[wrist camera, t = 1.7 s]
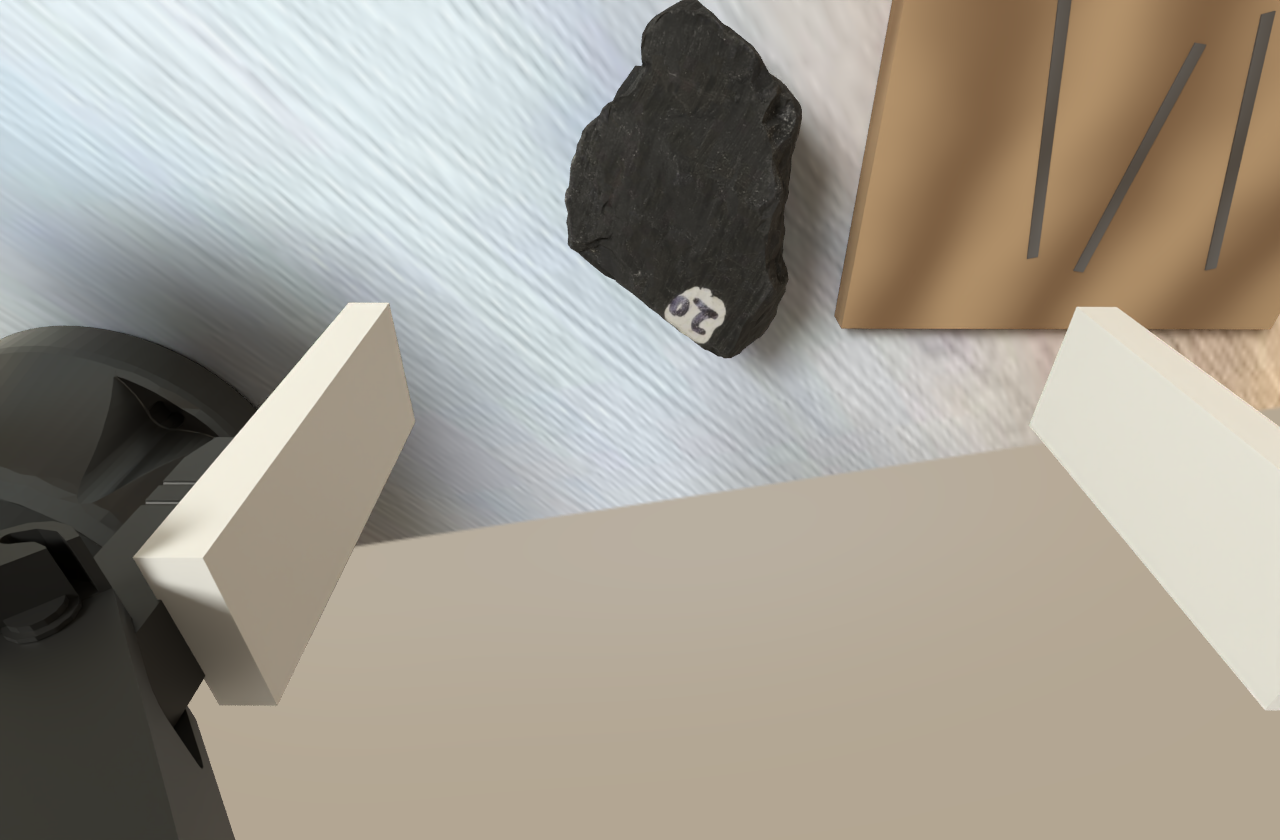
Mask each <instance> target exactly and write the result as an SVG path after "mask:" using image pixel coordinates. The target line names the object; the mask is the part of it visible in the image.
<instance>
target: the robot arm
mask: <svg viewBox="0 0 1280 840" xmlns="http://www.w3.org/2000/svg"><path fill="white" fill-rule="evenodd" d="M414 424H415V418H414V414H413V409H412V405H411V400H410V396H409V391H408V387H407V382H406V377H405V373H404V368H403V364H402V359H401V355H400V350H399V346H398V341H397V337H396V332H395V328H394V323H393V319H392V314H391V310H390V305H389V303H348V304H347V305H346V307H345V308H344V309H343V310H342V311H341V312H340V314H339V315H338V316H337V317H336V318H335V319H334V321H333V322H332V323H331V324H330V325H329V327H328V328H327V329H326V330H325V331H324V332H323V334H322V335H321V336H320V337H319V338H318V340H317V341H316V342H315V343H314V344H313V345H312V347H311V348H310V349H309V350H308V351H307V353H306V354H305V355H304V356H303V357H302V358H301V360H300V361H299V362H298V363H297V364H296V365H295V367H294V368H293V369H292V370H291V371H290V373H289V374H288V375H287V376H286V377H285V378H284V380H283V381H282V382H281V383H280V384H279V386H278V387H277V388H276V389H275V390H274V391H273V393H272V394H271V395H270V396H269V397H268V399H267V400H266V401H265V402H264V403H263V404H262V406H261V407H260V408H259V409H258V410H256V409H255V408H254V407H253V406H252V405H251V404H250V403H249V402H248V401H247V400H246V399H245V398H244V397H243V396H242V395H240V394H239V393H238V392H237V391H236V390H234V389H233V388H232V387H231V386H229V385H228V384H227V383H226V382H224V381H223V380H221V379H220V378H219V377H217V376H216V375H214V374H213V373H211V372H210V371H208V370H207V369H205V368H203V367H202V366H200V365H198V364H196V363H195V362H193V361H191V360H189V359H187V358H185V357H184V356H182V355H180V354H178V353H175V352H173V351H171V350H169V349H167V348H164V347H162V346H159V345H157V344H154V343H152V342H149V341H146V340H143V339H140V338H137V337H134V336H130V335H126V334H123V333H119V332H114V331H109V330H104V329H98V328H91V327H81V326H49V327H40V328H34V329H29V330H25V331H21V332H18V333H15V334H12V335H9V336H7V337H5V338H3V339H1V340H0V840H235V838H234V835H233V832H232V829H231V825H230V823H229V820H228V816H227V813H226V810H225V807H224V804H223V801H222V798H221V795H220V792H219V789H218V786H217V782H216V779H215V776H214V773H213V770H212V767H211V764H210V761H209V758H208V755H207V752H206V749H205V746H204V743H203V740H202V736H201V733H200V730H199V727H198V724H197V721H196V719H195V717H194V715H193V714H192V712H191V711H190V709H189V708H188V706H187V705H188V704H189V702H190V700H191V699H192V697H193V695H194V694H195V692H196V690H197V689H198V687H199V685H200V684H201V682H202V681H203V679H204V680H205V681H206V683H207V685H208V686H209V688H210V690H211V691H212V693H213V695H214V697H215V698H216V700H217V702H218V703H219V705H278V703H279V701H280V699H281V697H282V695H283V693H284V691H285V689H286V687H287V685H288V683H289V681H290V678H291V676H292V674H293V672H294V670H295V668H296V666H297V664H298V662H299V660H300V658H301V656H302V654H303V652H304V650H305V648H306V646H307V644H308V641H309V639H310V637H311V635H312V633H313V631H314V629H315V627H316V625H317V623H318V621H319V619H320V617H321V615H322V613H323V611H324V608H325V607H326V604H327V602H328V600H329V598H330V596H331V594H332V592H333V590H334V588H335V586H336V584H337V582H338V580H339V578H340V576H341V574H342V572H343V569H344V567H345V565H346V563H347V561H348V559H349V557H350V555H351V553H352V551H353V549H354V547H355V545H356V543H357V541H358V539H359V537H360V535H361V533H362V531H363V528H364V526H365V524H366V522H367V520H368V518H369V516H370V514H371V512H372V510H373V508H374V506H375V504H376V502H377V500H378V498H379V496H380V494H381V491H382V489H383V487H384V485H385V483H386V481H387V479H388V477H389V475H390V473H391V471H392V469H393V467H394V465H395V463H396V461H397V459H398V457H399V454H400V452H401V450H402V448H403V446H404V444H405V442H406V440H407V438H408V436H409V434H410V432H411V430H412V428H413V426H414ZM1029 426H1030V427H1031V428H1032V429H1033V431H1034V432H1035V433H1036V434H1037V436H1038V437H1039V438H1040V439H1041V440H1042V442H1043V443H1044V444H1045V445H1046V446H1047V448H1048V449H1049V450H1050V451H1051V452H1052V454H1053V455H1054V456H1055V457H1056V458H1057V460H1058V461H1059V462H1060V463H1061V464H1062V466H1063V467H1064V468H1065V469H1066V471H1067V472H1068V473H1069V474H1070V475H1071V477H1072V478H1073V479H1074V480H1075V481H1076V483H1077V484H1078V485H1079V486H1080V487H1081V489H1082V490H1083V491H1084V492H1085V493H1086V495H1087V496H1088V497H1089V498H1090V500H1091V501H1092V502H1093V503H1094V504H1095V505H1096V507H1097V508H1098V509H1099V510H1100V512H1101V513H1102V514H1103V515H1104V516H1105V518H1106V519H1107V520H1108V521H1109V522H1110V524H1111V525H1112V526H1113V527H1114V528H1115V530H1116V531H1117V532H1118V533H1119V535H1121V537H1122V538H1123V539H1124V541H1125V542H1126V543H1127V544H1128V545H1129V546H1130V548H1131V549H1132V550H1133V551H1134V552H1135V554H1136V555H1137V556H1138V557H1139V559H1140V560H1141V561H1142V562H1143V563H1144V565H1145V566H1146V567H1147V568H1148V569H1149V571H1150V572H1151V573H1152V574H1153V576H1154V577H1155V578H1156V579H1157V580H1158V582H1159V583H1160V584H1161V585H1162V586H1163V587H1164V589H1165V590H1166V591H1167V592H1168V594H1169V595H1170V596H1171V597H1172V598H1173V599H1174V601H1175V602H1176V603H1177V605H1178V606H1179V607H1180V608H1181V609H1182V611H1183V612H1184V613H1185V614H1186V615H1187V616H1188V618H1189V619H1190V620H1191V621H1192V622H1193V624H1194V625H1195V626H1196V627H1197V629H1198V630H1199V631H1200V632H1201V633H1202V634H1203V636H1204V637H1205V638H1206V639H1207V641H1208V642H1209V643H1210V644H1211V645H1212V647H1213V648H1214V649H1215V650H1216V652H1217V653H1218V654H1219V655H1220V656H1221V657H1222V659H1223V660H1224V661H1225V662H1226V664H1227V665H1228V666H1229V667H1230V668H1231V670H1232V671H1233V672H1234V673H1235V675H1236V676H1237V677H1238V678H1239V679H1240V681H1241V682H1242V683H1243V684H1244V685H1245V687H1246V688H1247V689H1248V690H1249V691H1250V692H1251V694H1252V695H1253V696H1254V697H1255V699H1256V700H1257V701H1258V702H1259V703H1260V705H1261V706H1262V707H1263V708H1264V710H1280V427H1279V426H1278V425H1276V424H1275V423H1274V422H1272V421H1271V420H1270V419H1268V418H1267V417H1265V416H1264V415H1263V414H1261V413H1260V412H1259V411H1257V410H1256V409H1255V408H1253V407H1252V406H1251V405H1249V404H1248V403H1247V402H1245V401H1244V400H1242V399H1241V398H1240V397H1238V396H1237V395H1236V394H1234V393H1233V392H1232V391H1230V390H1229V389H1228V388H1226V387H1225V386H1223V385H1222V384H1221V383H1219V382H1218V381H1217V380H1215V379H1214V378H1213V377H1211V376H1210V375H1208V374H1207V373H1206V372H1204V371H1203V370H1202V369H1200V368H1199V367H1198V366H1196V365H1195V364H1194V363H1192V362H1191V361H1189V360H1188V359H1187V358H1185V357H1184V356H1183V355H1181V354H1180V353H1179V352H1177V351H1176V350H1174V349H1173V348H1172V347H1170V346H1169V345H1168V344H1166V343H1165V342H1164V341H1162V340H1161V339H1160V338H1158V337H1157V336H1155V335H1154V334H1153V333H1151V332H1150V331H1149V330H1147V329H1146V328H1145V327H1143V326H1142V325H1140V324H1139V323H1138V322H1136V321H1135V320H1134V319H1132V318H1131V317H1130V316H1128V315H1127V314H1126V313H1124V312H1123V311H1121V310H1120V309H1119V308H1117V307H1076V310H1075V312H1074V315H1073V317H1072V320H1071V322H1070V325H1069V327H1068V330H1067V332H1066V335H1065V337H1064V340H1063V342H1062V345H1061V347H1060V350H1059V352H1058V355H1057V357H1056V359H1055V362H1054V364H1053V367H1052V369H1051V372H1050V374H1049V377H1048V379H1047V382H1046V384H1045V387H1044V389H1043V392H1042V394H1041V397H1040V399H1039V402H1038V404H1037V407H1036V409H1035V412H1034V414H1033V417H1032V419H1031V422H1030V424H1029Z"/></svg>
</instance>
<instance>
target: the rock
mask: <svg viewBox="0 0 1280 840" xmlns="http://www.w3.org/2000/svg"><path fill="white" fill-rule="evenodd" d="M641 55H642V66H635V67H634V68H633V70H632V71H631V73H630V74H629V76H628V77H627V78H626V80H625V81H624V82H623V84H622V85H621V87H620V88H619V89H618V91H617V93H616V95H615V98H614V100H613V101H612V102H610V103H608V104H607V105H606V106H605V107H603V109H602V111H601V113H600V115H599V116H598V117H597V118H595V119H594V120H593V121H592V122H590V123H589V124H588V125H587V126H586V127H585V129H584V130H583V131H582V135H581V139H580V140H579V142H578V144H577V149H576V153H575V155H574V157H573V159H572V163H571V167H570V181H569V188H568V189H567V190H566V193H565V204H566V207H567V211H568V217H567V222H566V223H567V227H568V245H569V247H570V248H571V249H573V250H575V251H576V252H578V253H579V254H580V255H581V256H582V257H583V258H584V259H585V260H587V261H588V262H589V263H590V264H592V265H593V266H594V267H595V268H596V269H598V270H599V271H600V272H601V273H603V274H604V275H605V276H607V277H609V278H611V279H614V280H616V282H617V283H619V284H620V285H621V286H623V287H624V288H626V289H627V290H628V291H630V292H631V293H633V294H634V295H635V296H636V297H638V298H639V299H640V300H641V301H642V302H644V303H645V304H646V305H647V306H648V307H649V308H651V309H652V310H653V311H655V312H656V313H658V314H659V315H660V316H661V317H662V318H663V319H664V320H666V321H667V322H669V323H670V324H671V325H673V326H674V327H675V328H676V329H677V330H678V331H679V332H681V333H683V334H684V335H686V336H688V337H689V338H690V339H692V340H693V341H694V342H695V343H697V344H698V345H699V346H701V347H702V348H703V349H705V350H708V351H710V352H712V353H714V354H715V355H717V356H721V357H723V358H732V357H734V356H735V355H738V354H740V353H741V352H742V350H744V349H745V348H746V347H747V346H748V345H750V344H751V343H752V342H753V341H755V340H756V339H758V338H759V337H761V336H762V335H763V334H764V332H765V331H766V330H767V329H768V327H769V325H770V323H771V322H772V320H773V318H774V317H775V315H776V312H777V306H778V304H779V302H780V300H781V298H782V297H783V295H784V293H785V286H786V284H787V282H788V273H787V268H786V265H785V263H784V261H783V257H782V253H783V240H784V235H785V227H784V206H785V203H786V200H787V198H788V193H789V190H788V184H789V179H790V171H791V156H792V154H793V151H794V148H795V142H796V140H797V137H798V134H799V131H800V125H801V120H802V109H801V106H800V103H799V102H798V101H797V99H796V98H795V97H794V96H793V94H792V93H791V92H790V91H789V89H788V88H787V87H786V85H785V84H783V83H782V82H781V81H780V80H779V79H777V78H776V77H774V76H773V75H771V74H769V72H768V70H767V68H766V67H765V65H764V63H763V61H762V59H761V56H760V55H759V54H758V52H757V51H756V50H755V48H754V47H753V46H752V45H751V44H750V43H748V42H747V41H746V40H745V39H744V38H742V37H741V36H740V35H738V34H737V33H736V32H735V31H734V30H733V29H731V28H730V27H728V26H726V25H724V24H723V23H722V22H721V21H720V20H719V19H718V18H717V17H716V16H715V15H714V14H713V13H712V12H711V11H709V10H708V9H707V8H706V7H704V6H703V5H702V4H701V3H700V2H699V1H698V0H682V1H680V2H678V3H676V4H674V5H673V6H671V7H669V8H667V9H666V10H664V11H663V12H661V13H660V14H658V15H656V16H655V17H654V18H653V19H652V20H651V21H650V22H649V23H648V24H647V26H646V28H645V30H644V32H643V34H642V43H641Z"/></svg>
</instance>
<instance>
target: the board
mask: <svg viewBox="0 0 1280 840" xmlns="http://www.w3.org/2000/svg"><path fill="white" fill-rule="evenodd" d="M1076 307H1117V308H1119V309H1120V310H1121V311H1123V312H1124V313H1126V314H1127V315H1128V316H1130V317H1131V318H1132V319H1134V320H1135V321H1136V322H1138V323H1139V324H1140V325H1142V326H1143V327H1145V328H1146V329H1271V327H1272V326H1273V324H1274V322H1275V321H1276V319H1277V317H1278V316H1279V314H1280V0H892V5H891V11H890V16H889V22H888V27H887V32H886V38H885V43H884V49H883V54H882V60H881V65H880V71H879V76H878V81H877V87H876V92H875V98H874V103H873V109H872V114H871V120H870V125H869V130H868V136H867V141H866V147H865V152H864V158H863V163H862V169H861V174H860V179H859V185H858V190H857V196H856V201H855V207H854V212H853V218H852V223H851V228H850V234H849V239H848V245H847V250H846V256H845V261H844V267H843V272H842V277H841V283H840V288H839V294H838V299H837V305H836V310H835V318H836V320H837V321H838V323H839V325H840V327H841V328H863V329H1068V327H1069V325H1070V322H1071V320H1072V317H1073V315H1074V312H1075V310H1076Z"/></svg>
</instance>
